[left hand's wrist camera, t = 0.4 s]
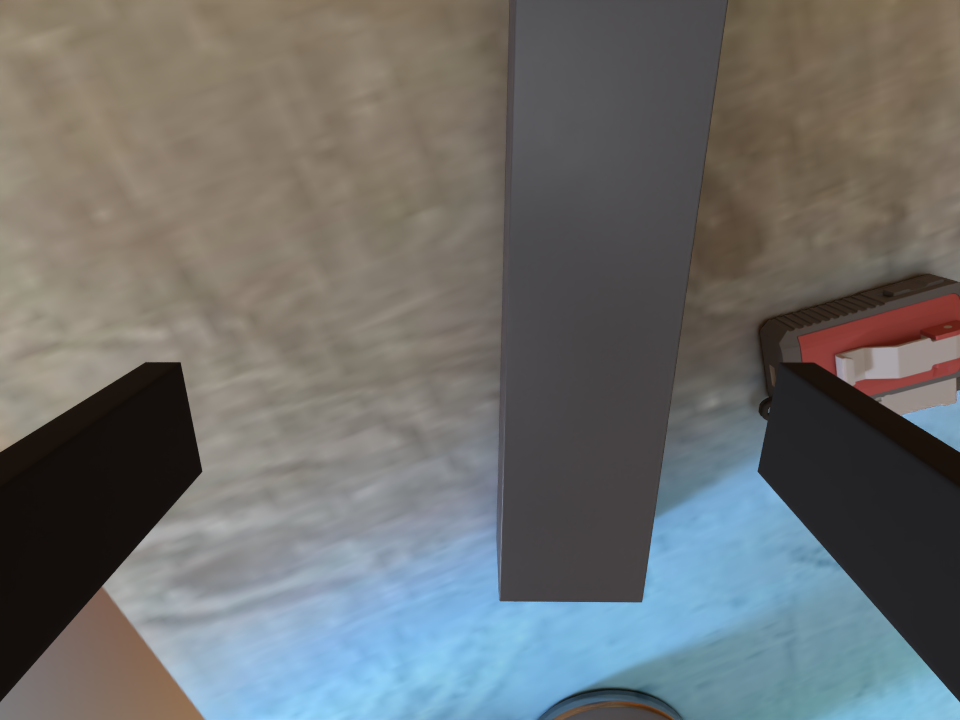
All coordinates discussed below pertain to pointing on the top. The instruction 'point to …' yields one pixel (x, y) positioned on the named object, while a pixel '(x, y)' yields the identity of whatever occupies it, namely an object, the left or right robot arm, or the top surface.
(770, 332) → the walkie-talkie
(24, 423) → the top surface
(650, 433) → the slab
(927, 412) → the top surface
